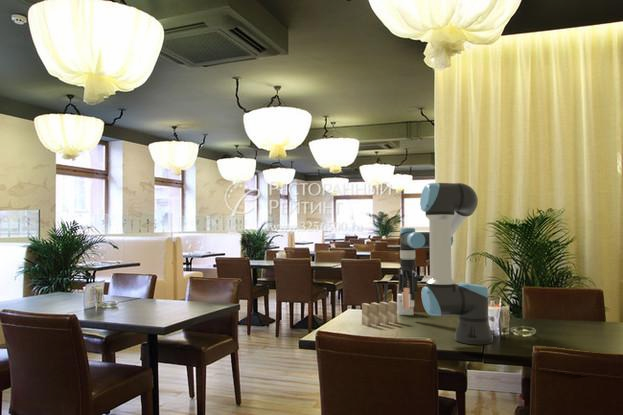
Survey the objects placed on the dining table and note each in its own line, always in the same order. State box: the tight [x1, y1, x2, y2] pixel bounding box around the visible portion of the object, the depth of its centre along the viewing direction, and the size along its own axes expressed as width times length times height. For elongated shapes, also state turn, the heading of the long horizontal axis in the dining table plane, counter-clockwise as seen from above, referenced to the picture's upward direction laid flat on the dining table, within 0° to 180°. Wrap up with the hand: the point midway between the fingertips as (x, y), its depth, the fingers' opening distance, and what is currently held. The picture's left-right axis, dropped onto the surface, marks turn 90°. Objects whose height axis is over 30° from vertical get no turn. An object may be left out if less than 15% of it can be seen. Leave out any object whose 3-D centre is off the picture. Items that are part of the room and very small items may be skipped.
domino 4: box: [387, 300, 398, 324], centre depth 247 cm, size 2×5×10 cm, turn 25°
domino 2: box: [370, 302, 381, 326], centre depth 243 cm, size 2×5×10 cm, turn 25°
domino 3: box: [379, 301, 390, 325], centre depth 245 cm, size 2×5×10 cm, turn 25°
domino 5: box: [403, 287, 414, 310], centre depth 250 cm, size 2×5×10 cm, turn 25°
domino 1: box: [361, 302, 372, 327], centre depth 241 cm, size 2×5×10 cm, turn 25°
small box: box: [397, 293, 415, 316], centre depth 268 cm, size 8×6×10 cm
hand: (408, 305), depth 250 cm, fingers closed on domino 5, 5 cm apart
